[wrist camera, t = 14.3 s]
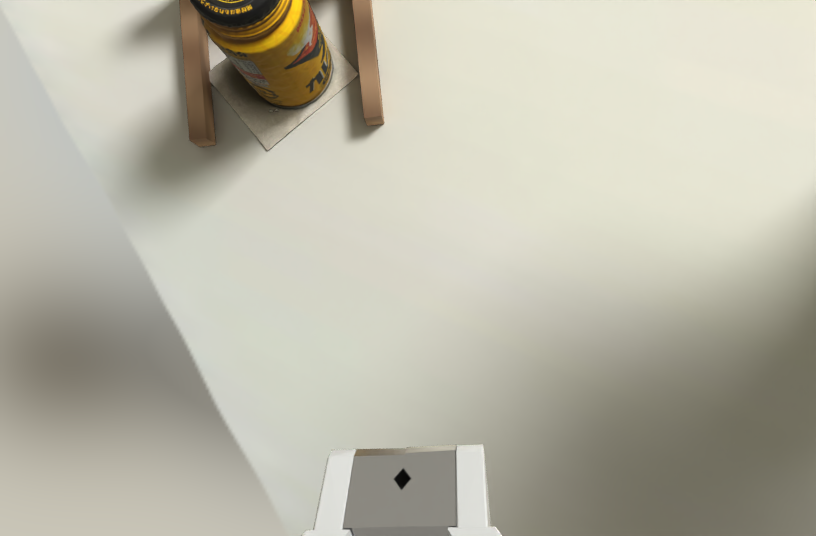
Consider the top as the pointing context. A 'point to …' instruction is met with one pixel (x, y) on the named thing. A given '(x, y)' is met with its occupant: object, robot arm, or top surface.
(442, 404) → the top surface
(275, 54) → the condiment
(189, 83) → the corral
